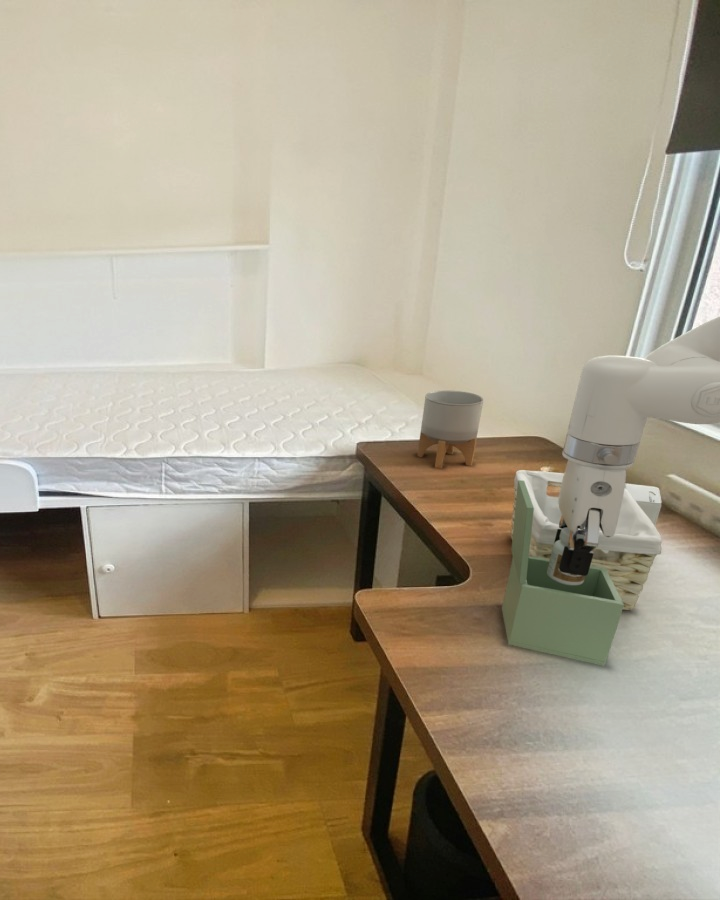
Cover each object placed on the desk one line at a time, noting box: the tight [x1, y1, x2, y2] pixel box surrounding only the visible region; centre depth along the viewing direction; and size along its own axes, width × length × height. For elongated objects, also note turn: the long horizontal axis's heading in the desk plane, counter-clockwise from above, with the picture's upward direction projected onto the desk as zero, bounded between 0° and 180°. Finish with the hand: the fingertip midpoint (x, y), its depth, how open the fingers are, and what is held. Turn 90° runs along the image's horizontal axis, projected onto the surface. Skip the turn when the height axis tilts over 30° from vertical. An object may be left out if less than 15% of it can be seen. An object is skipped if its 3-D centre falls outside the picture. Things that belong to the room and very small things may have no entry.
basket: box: [510, 469, 663, 611], centre depth 98 cm, size 24×16×15 cm
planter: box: [416, 390, 484, 470], centre depth 146 cm, size 13×13×18 cm
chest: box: [501, 556, 624, 667], centre depth 84 cm, size 12×10×11 cm
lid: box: [511, 480, 534, 584], centre depth 83 cm, size 12×10×1 cm
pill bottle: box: [547, 527, 585, 585], centre depth 81 cm, size 4×4×8 cm
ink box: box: [625, 482, 663, 527], centre depth 104 cm, size 8×5×12 cm, turn 141°
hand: (569, 562), depth 81 cm, fingers closed on pill bottle, 4 cm apart
